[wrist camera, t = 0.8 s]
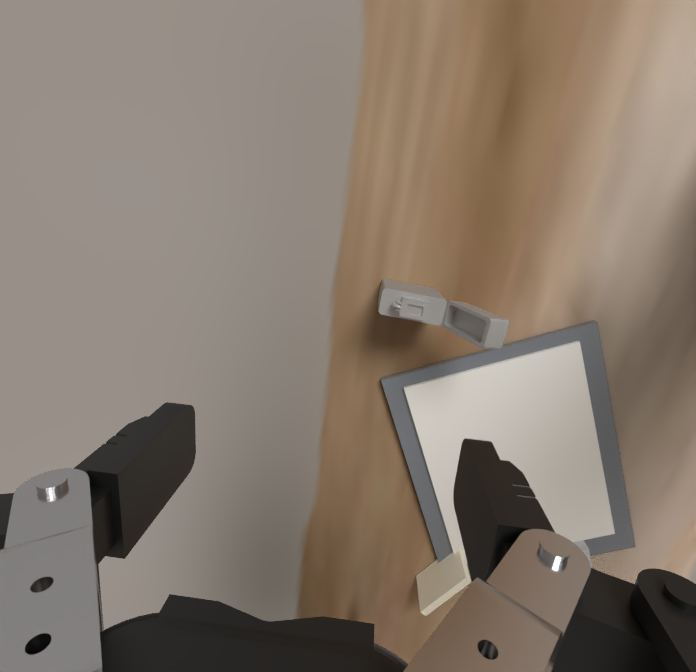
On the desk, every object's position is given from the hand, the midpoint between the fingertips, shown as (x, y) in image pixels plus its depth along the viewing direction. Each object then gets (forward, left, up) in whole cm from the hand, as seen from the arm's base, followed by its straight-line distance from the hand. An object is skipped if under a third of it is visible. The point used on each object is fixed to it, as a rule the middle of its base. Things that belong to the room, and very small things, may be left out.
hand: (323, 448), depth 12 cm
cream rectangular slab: (0, +24, -20) cm, 31 cm away
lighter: (-5, +1, -20) cm, 21 cm away
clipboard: (-8, +16, -20) cm, 26 cm away
